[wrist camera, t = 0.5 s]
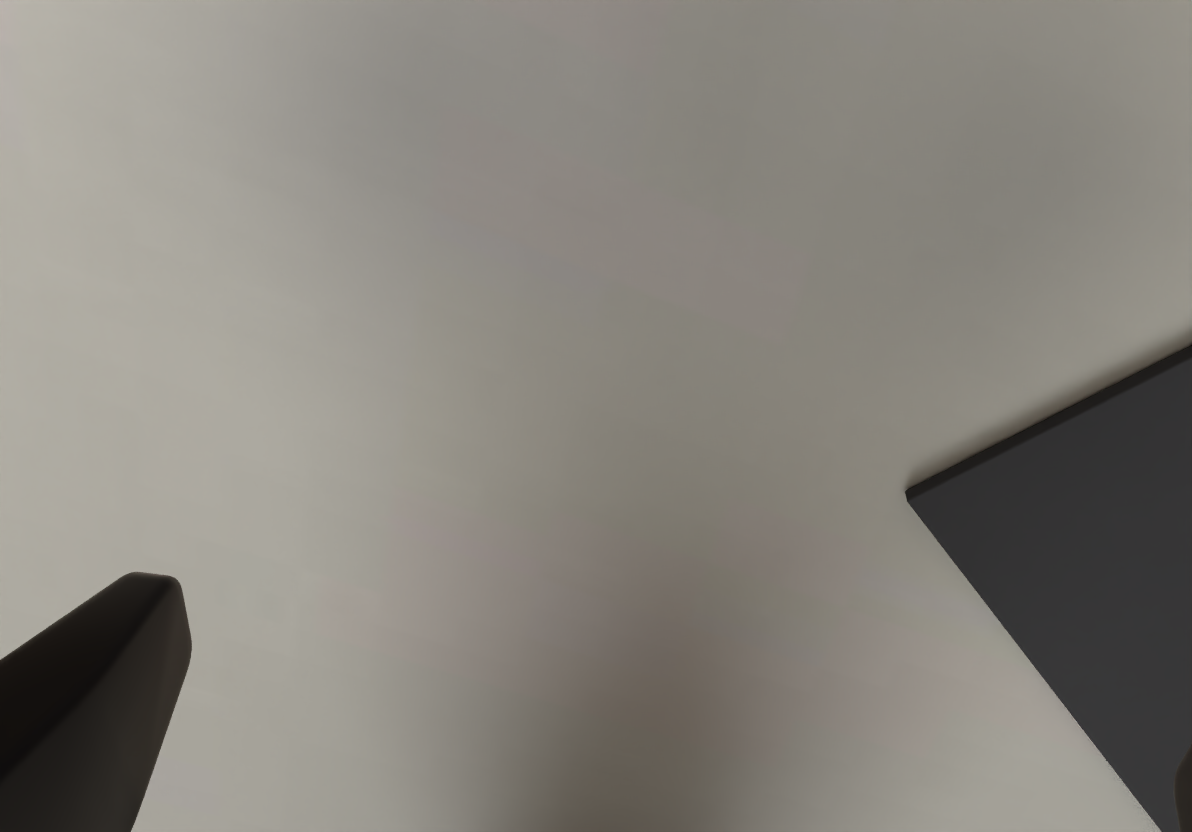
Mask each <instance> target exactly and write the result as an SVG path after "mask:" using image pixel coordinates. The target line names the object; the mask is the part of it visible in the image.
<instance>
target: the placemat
mask: <svg viewBox="0 0 1192 832" xmlns="http://www.w3.org/2000/svg"><path fill="white" fill-rule="evenodd" d="M905 494H906V498H907V502H908V503H909V504H910V506H911V507H912V508H913V509H914V511H915V512H916V513H917V515H918V516H919V517H920V518H921V520H922V521H923V522H924V524H925V525H926V526H927V528H928V529H929V530H930V531H931V533H932V534H933V535H934V537H935V538H936V539H937V541H938V542H939V543H940V544H941V546H942V547H943V548H944V550H945V551H946V552H947V554H948V555H949V556H950V557H951V559H952V560H953V561H954V563H955V564H956V565H957V567H958V568H959V569H960V570H961V572H962V573H963V574H964V576H965V577H966V578H967V580H968V581H969V582H970V583H971V585H972V586H973V587H974V589H975V590H976V591H977V592H978V594H979V595H980V596H981V598H982V599H983V600H984V602H985V603H986V604H987V605H988V607H989V608H990V609H991V611H992V612H993V613H994V615H995V616H996V617H997V618H998V620H999V621H1000V622H1001V624H1002V625H1003V626H1004V628H1005V629H1006V630H1007V631H1008V633H1009V634H1010V635H1011V637H1012V638H1013V639H1014V641H1015V642H1016V643H1017V644H1018V646H1019V647H1020V648H1021V650H1022V651H1023V652H1024V654H1025V655H1026V656H1027V657H1028V659H1029V660H1030V661H1031V663H1032V664H1033V665H1034V667H1035V668H1036V669H1037V670H1038V672H1039V673H1040V674H1041V676H1042V677H1043V678H1044V679H1045V681H1046V682H1047V683H1048V685H1049V686H1050V687H1051V689H1052V690H1053V691H1054V692H1055V694H1056V695H1057V696H1058V698H1059V699H1060V700H1061V702H1062V703H1063V704H1064V705H1065V707H1066V708H1067V709H1068V711H1069V712H1070V713H1071V715H1072V716H1073V717H1074V718H1075V720H1076V721H1077V722H1078V724H1079V725H1080V726H1081V728H1082V729H1083V730H1084V731H1085V733H1086V734H1087V735H1088V737H1089V738H1090V739H1091V741H1092V742H1093V743H1094V744H1095V746H1096V747H1097V748H1098V750H1099V751H1100V752H1101V753H1102V755H1103V756H1104V757H1105V759H1106V760H1107V761H1108V763H1109V764H1110V765H1111V766H1112V768H1113V769H1114V770H1115V772H1116V773H1117V774H1118V776H1119V777H1120V778H1121V779H1122V781H1123V782H1124V783H1125V785H1126V786H1127V787H1128V789H1129V790H1130V791H1131V792H1132V794H1133V795H1134V796H1135V798H1136V799H1137V800H1138V802H1139V803H1140V804H1141V805H1142V807H1143V808H1144V809H1145V811H1146V812H1147V813H1148V815H1149V816H1150V817H1151V818H1152V820H1153V821H1154V822H1155V824H1156V825H1157V826H1158V827H1159V829H1160V830H1161V831H1162V832H1180V829H1179V823H1178V817H1177V811H1176V805H1175V799H1174V778H1175V774H1176V770H1177V768H1178V765H1179V764H1180V762H1181V760H1182V759H1183V757H1184V755H1185V754H1186V752H1187V750H1188V749H1189V747H1190V745H1191V744H1192V346H1190V347H1188V348H1186V349H1184V350H1182V351H1180V352H1178V353H1176V354H1174V355H1172V356H1170V357H1168V358H1166V359H1164V360H1162V361H1160V362H1158V363H1156V364H1154V365H1153V366H1151V367H1149V368H1147V369H1145V370H1143V371H1141V372H1139V373H1137V374H1135V375H1133V376H1131V377H1129V378H1127V379H1125V380H1123V381H1121V382H1119V383H1117V384H1115V385H1113V386H1111V387H1109V388H1107V389H1105V390H1103V391H1101V392H1099V393H1097V394H1095V395H1093V396H1091V397H1090V398H1088V399H1086V400H1084V401H1082V402H1080V403H1078V404H1076V405H1074V406H1072V407H1070V408H1068V409H1066V410H1064V411H1062V412H1060V413H1058V414H1056V415H1054V416H1052V417H1050V418H1048V419H1046V420H1044V421H1042V422H1040V423H1038V424H1036V425H1034V426H1032V427H1030V428H1028V429H1027V430H1025V431H1023V432H1021V433H1019V434H1017V435H1015V436H1013V437H1011V438H1009V439H1007V440H1005V441H1003V442H1001V443H999V444H997V445H995V446H993V447H991V448H989V449H987V450H985V451H983V452H981V453H979V454H977V455H975V456H973V457H971V458H969V459H967V460H966V461H964V462H962V463H960V464H958V465H956V466H954V467H952V468H950V469H948V470H946V471H944V472H942V473H940V474H938V475H936V476H934V477H932V478H930V479H928V480H926V481H924V482H922V483H920V484H918V485H916V486H914V487H912V488H910V489H908V490H906V491H905Z"/></svg>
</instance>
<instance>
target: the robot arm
mask: <svg viewBox="0 0 1192 832" xmlns="http://www.w3.org/2000/svg"><path fill="white" fill-rule="evenodd" d="M191 651H192V641H191V634H190V629H189V624H188V618H187V613H186V608H185V602H184V597H183V592H182V588H181V585H180V583H179V582H178V580H177V579H176V578H174V577H171V576H167V575H159V574H151V573H143V572H132V573H129V574H126V575H124V576H122V577H121V578H119V579H118V580H116V581H115V582H113V583H112V584H110V585H109V586H108V587H106V588H105V589H103V590H102V591H100V592H99V593H97V594H96V595H94V596H93V597H91V598H90V599H89V600H87V601H86V602H84V603H83V604H81V605H80V606H78V607H77V608H75V609H74V610H72V611H71V612H70V613H68V614H67V615H65V616H64V617H62V618H61V619H59V620H58V621H56V622H55V623H53V624H52V625H51V626H49V627H48V628H46V629H45V630H43V631H42V632H40V633H39V634H37V635H36V636H35V637H33V638H32V639H30V640H29V641H27V642H26V643H24V644H23V645H21V646H20V647H18V648H17V649H16V650H14V651H13V652H11V653H10V654H8V655H7V656H5V657H4V658H2V659H1V660H0V832H131V830H132V828H133V825H134V823H135V820H136V817H137V815H138V812H139V809H140V807H141V804H142V801H143V799H144V796H145V793H146V790H147V787H148V784H149V781H150V778H151V775H152V772H153V769H154V766H155V764H156V761H157V758H158V755H159V752H160V749H161V746H162V743H163V740H164V737H165V734H166V731H167V728H168V726H169V723H170V720H171V717H172V714H173V711H174V708H175V705H176V702H177V699H178V696H179V693H180V691H181V688H182V685H183V682H184V679H185V676H186V673H187V670H188V667H189V663H190V658H191ZM1174 799H1175V805H1176V811H1177V817H1178V823H1179V829H1180V832H1192V744H1191V745H1190V747H1189V749H1188V750H1187V752H1186V754H1185V755H1184V757H1183V759H1182V760H1181V762H1180V764H1179V765H1178V768H1177V770H1176V774H1175V778H1174Z"/></svg>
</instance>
